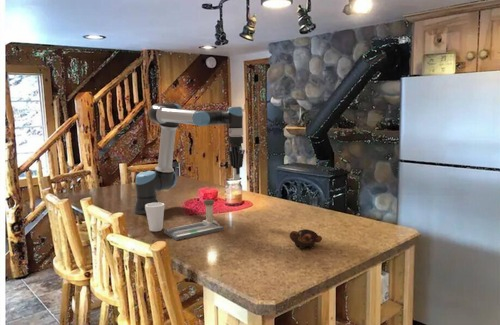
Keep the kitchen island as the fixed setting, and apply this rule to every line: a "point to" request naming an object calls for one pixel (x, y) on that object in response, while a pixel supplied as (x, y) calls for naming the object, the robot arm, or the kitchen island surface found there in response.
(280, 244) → the kitchen island surface
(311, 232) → the decorative turtle
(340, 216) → the kitchen island surface
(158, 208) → the foam cup
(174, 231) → the board
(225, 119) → the robot arm
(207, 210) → the tuning slider
